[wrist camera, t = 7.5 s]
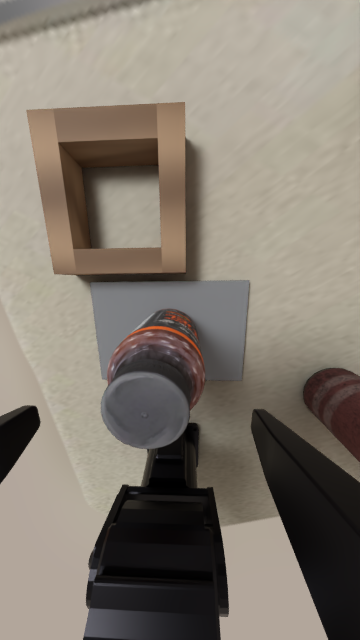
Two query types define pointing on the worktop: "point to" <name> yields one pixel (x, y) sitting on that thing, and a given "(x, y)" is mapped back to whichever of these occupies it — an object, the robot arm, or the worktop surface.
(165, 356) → the supplement bottle
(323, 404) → the can
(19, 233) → the worktop surface
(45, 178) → the walnut holder
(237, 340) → the grey rubber mat
